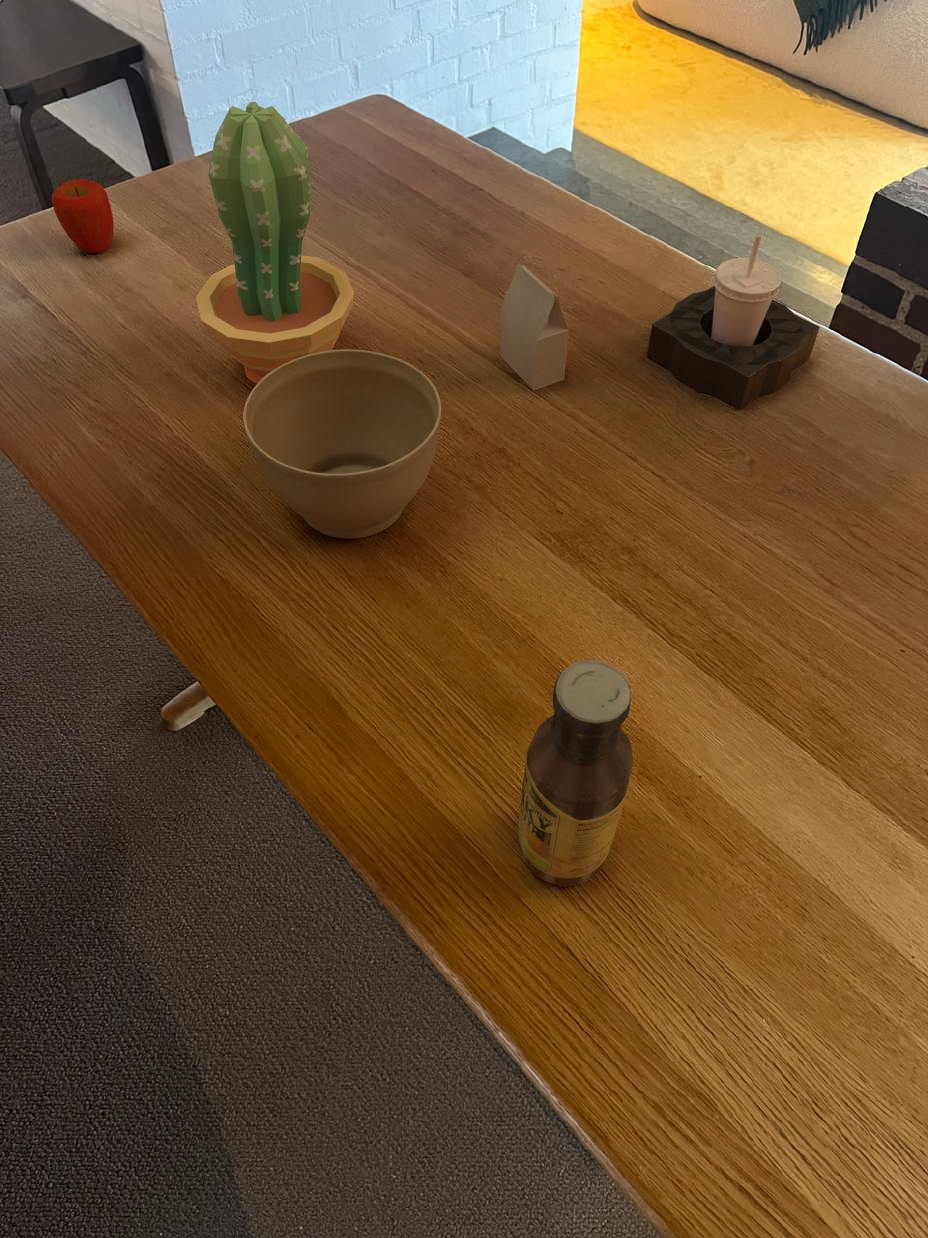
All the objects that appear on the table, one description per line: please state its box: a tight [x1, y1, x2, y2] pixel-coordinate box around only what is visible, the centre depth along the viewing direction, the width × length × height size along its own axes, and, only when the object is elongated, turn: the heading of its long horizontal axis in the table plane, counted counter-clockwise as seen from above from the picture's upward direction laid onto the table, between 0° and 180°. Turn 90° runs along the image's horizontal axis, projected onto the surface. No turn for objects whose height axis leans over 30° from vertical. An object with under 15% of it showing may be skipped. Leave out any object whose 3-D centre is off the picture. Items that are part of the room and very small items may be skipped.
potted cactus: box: [195, 101, 355, 385], centre depth 90 cm, size 15×15×25 cm
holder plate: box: [646, 284, 821, 411], centre depth 99 cm, size 13×13×4 cm
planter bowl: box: [242, 348, 442, 540], centre depth 82 cm, size 16×16×11 cm
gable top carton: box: [499, 263, 570, 392], centre depth 95 cm, size 4×7×10 cm, turn 29°
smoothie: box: [711, 233, 782, 346], centre depth 95 cm, size 6×6×14 cm
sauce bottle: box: [517, 659, 634, 888], centre depth 58 cm, size 6×6×20 cm
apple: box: [51, 178, 115, 254], centre depth 111 cm, size 6×6×8 cm
